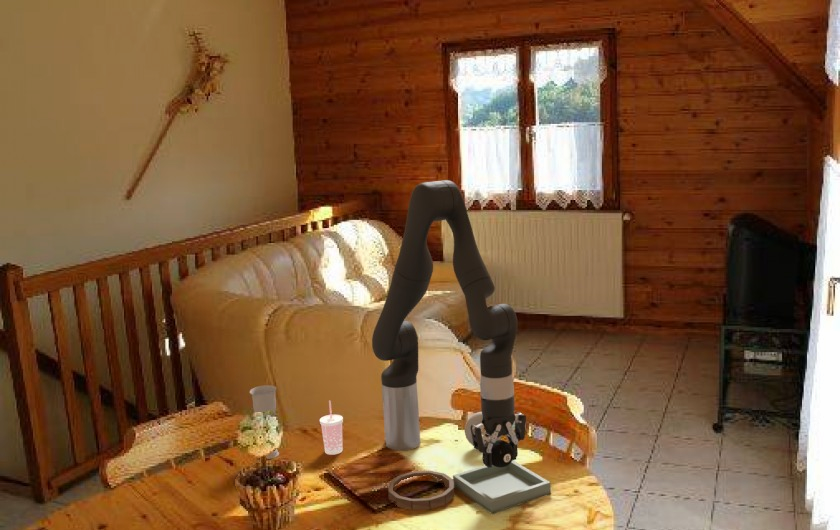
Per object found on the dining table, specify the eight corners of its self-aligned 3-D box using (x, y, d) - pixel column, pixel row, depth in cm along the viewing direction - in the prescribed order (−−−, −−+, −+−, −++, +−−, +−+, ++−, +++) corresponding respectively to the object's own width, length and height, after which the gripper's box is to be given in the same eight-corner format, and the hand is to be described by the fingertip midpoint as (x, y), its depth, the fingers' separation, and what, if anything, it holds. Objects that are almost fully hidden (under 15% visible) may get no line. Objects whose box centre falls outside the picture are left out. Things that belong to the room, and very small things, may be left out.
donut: (466, 452, 208) (464, 415, 206) (464, 447, 212) (462, 410, 210) (504, 448, 209) (503, 412, 207) (502, 443, 213) (500, 407, 211)
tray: (453, 486, 190) (452, 475, 189) (509, 468, 197) (509, 458, 197) (491, 513, 176) (491, 501, 176) (550, 493, 184) (550, 482, 183)
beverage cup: (350, 448, 215) (346, 398, 212) (335, 457, 210) (331, 406, 207) (332, 444, 218) (327, 395, 216) (317, 453, 213) (313, 402, 211)
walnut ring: (378, 490, 190) (377, 481, 190) (433, 473, 197) (433, 465, 197) (408, 516, 177) (407, 507, 177) (466, 497, 184) (466, 488, 184)
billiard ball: (496, 474, 182) (495, 448, 181) (482, 464, 187) (481, 440, 186) (519, 467, 184) (518, 442, 183) (504, 458, 190) (503, 434, 188)
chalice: (276, 461, 210) (270, 395, 206) (251, 460, 211) (245, 394, 208) (286, 449, 217) (280, 385, 213) (262, 448, 218) (256, 384, 215)
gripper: (513, 381, 189) (516, 449, 192) (461, 395, 182) (465, 465, 185) (533, 390, 183) (535, 460, 186) (479, 404, 176) (483, 476, 179)
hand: (500, 462), depth 185 cm, fingers closed on billiard ball, 6 cm apart
